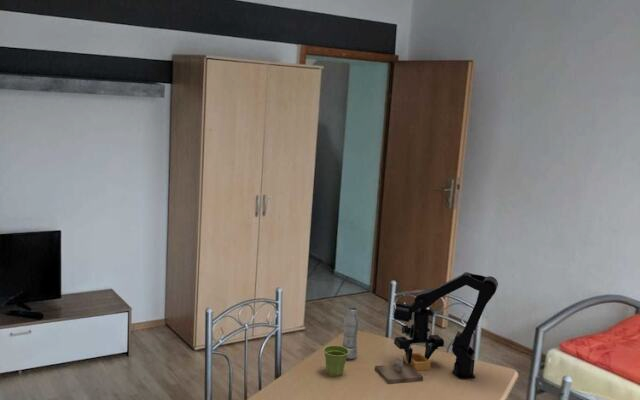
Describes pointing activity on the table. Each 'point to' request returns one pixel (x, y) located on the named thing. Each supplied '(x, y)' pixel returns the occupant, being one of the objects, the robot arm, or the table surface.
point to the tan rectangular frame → (419, 362)
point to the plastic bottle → (351, 332)
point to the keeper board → (398, 372)
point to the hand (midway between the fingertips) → (417, 362)
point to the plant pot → (335, 359)
